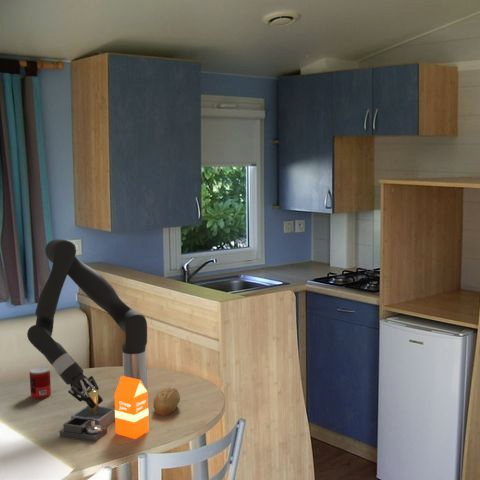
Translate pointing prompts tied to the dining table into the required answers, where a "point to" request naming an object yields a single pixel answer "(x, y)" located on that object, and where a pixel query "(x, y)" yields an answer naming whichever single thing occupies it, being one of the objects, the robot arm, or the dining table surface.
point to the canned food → (40, 382)
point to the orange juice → (131, 408)
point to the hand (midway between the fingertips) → (97, 404)
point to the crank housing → (82, 429)
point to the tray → (98, 415)
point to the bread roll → (166, 401)
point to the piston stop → (94, 396)
